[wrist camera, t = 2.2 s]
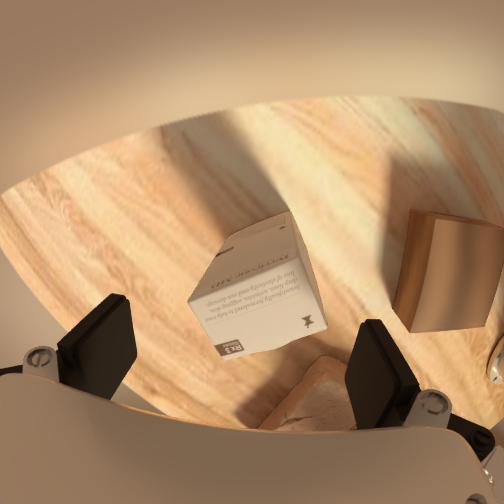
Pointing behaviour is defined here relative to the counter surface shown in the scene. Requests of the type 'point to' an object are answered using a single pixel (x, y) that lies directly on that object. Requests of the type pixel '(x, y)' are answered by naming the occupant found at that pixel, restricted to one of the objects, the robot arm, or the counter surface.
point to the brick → (315, 401)
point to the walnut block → (448, 272)
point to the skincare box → (259, 290)
